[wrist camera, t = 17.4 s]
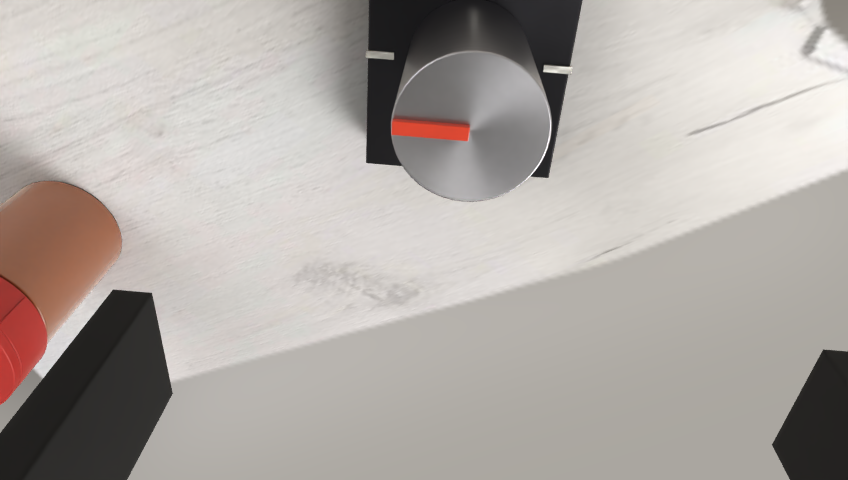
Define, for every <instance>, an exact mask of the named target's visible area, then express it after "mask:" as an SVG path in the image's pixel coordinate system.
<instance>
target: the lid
mask: <svg viewBox="0 0 848 480" xmlns="http://www.w3.org/2000/svg"><path fill="white" fill-rule="evenodd" d="M46 347H47V331H46V327H45V324H44V322H43V319H42V317H41V316H40V314H39V312H38V311H37V309H36V308H35V306H34V305H33V304H32V303H31V302H30V300H29V299H28V298H27V297H26V296H25V295H24V294H23V293H22V292H20V291H19V290H18V289H17V288H16V287H14V286H13V285H12V284H10V283H9V282H7V281H6V280H4V279H3V278H1V277H0V405H1V404H2V403H4V402H5V401H6V400H7V399H8V398H9V397H10V396H11V394H12V393H13V392H14V391H15V389H16V388H17V387H18V386H19V385H20V383H21V382H22V381H23V380H24V379H25V377H26V376H27V375H28V374H29V372H30V371H31V370H32V369H33V368H34V366H35V365H36V364H37V363H38V362H39V360H40V359H41V358H42V356H43V355H44V353H45V350H46Z"/></svg>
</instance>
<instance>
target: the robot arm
mask: <svg viewBox="0 0 848 480" xmlns="http://www.w3.org/2000/svg"><path fill="white" fill-rule="evenodd" d="M172 394H173V393H172V388H171V383H170V379H169V374H168V369H167V364H166V359H165V354H164V349H163V345H162V340H161V335H160V330H159V325H158V320H157V315H156V311H155V306H154V301H153V296H152V293H145V292H133V291H122V290H112V292H111V293H110V294H109V296H108V297H107V298H106V299H105V301H104V302H103V303H102V304H101V306H100V307H99V308H98V310H97V311H96V312H95V313H94V315H93V316H92V317H91V318H90V320H89V321H88V322H87V324H86V325H85V326H84V327H83V329H82V330H81V331H80V332H79V334H78V335H77V336H76V338H75V339H74V340H73V341H72V343H71V344H70V345H69V346H68V348H67V349H66V350H65V351H64V353H63V354H62V355H61V357H60V358H59V359H58V360H57V362H56V363H55V364H54V365H53V367H52V368H51V369H50V371H49V372H48V373H47V374H46V376H45V377H44V378H43V379H42V381H41V382H40V383H39V385H38V386H37V387H36V388H35V390H34V391H33V392H32V394H31V395H30V396H29V397H28V398H27V400H26V401H25V403H24V404H23V405H22V406H21V407H20V409H19V410H18V411H17V413H16V414H15V415H14V416H13V418H12V419H11V420H10V421H9V423H8V424H7V425H6V427H5V428H4V429H3V430H2V432H1V433H0V480H127V479H128V477H129V475H130V473H131V471H132V469H133V467H134V465H135V464H136V462H137V460H138V458H139V456H140V454H141V452H142V450H143V449H144V447H145V445H146V443H147V441H148V439H149V437H150V435H151V433H152V432H153V430H154V428H155V426H156V424H157V422H158V420H159V418H160V416H161V415H162V413H163V411H164V409H165V407H166V405H167V403H168V401H169V399H170V397H171V396H172ZM772 445H773V448H774V450H775V452H776V453H777V455H778V457H779V459H780V461H781V463H782V465H783V467H784V469H785V471H786V473H787V475H788V476H789V479H790V480H848V352H845V351H833V350H823V351H822V353H821V355H820V357H819V359H818V360H817V362H816V364H815V366H814V368H813V370H812V372H811V373H810V375H809V377H808V379H807V381H806V383H805V385H804V386H803V388H802V390H801V392H800V394H799V396H798V397H797V400H796V401H795V403H794V405H793V407H792V409H791V411H790V412H789V414H788V416H787V418H786V420H785V422H784V424H783V426H782V428H781V429H780V431H779V433H778V435H777V437H776V438H775V441H774V442H773V444H772Z"/></svg>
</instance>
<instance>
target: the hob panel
mask: <svg viewBox="0 0 848 480" xmlns="http://www.w3.org/2000/svg"><path fill="white" fill-rule="evenodd" d="M451 1H455V0H369V39H368V50H366V58H368V93H367V147H366V163H373V164H385V165H397V166H402V164H401V163H400V161H399V159H398V157H397V155H396V152H395V149H394V146H393V142H392V136H391V119H392V113H393V109H394V105H395V101H396V97H397V93H398V90H399V86H400V82H401V78H402V74H403V70H404V67H405V63H406V59H407V55H408V51H409V47H410V44H411V40H412V38H413V35H414V33H415V31H416V30H417V28H418V26H419V25H420V24H421V22H422V21H423V20H424V19H425V18H426V17H427V16H428V15H429V14H430V13H431V12H433V11H434V10H435V9H437V8H438V7H440V6H442V5H444V4H446V3H449V2H451ZM486 1H489V2H492V3H494V4H497V5H499V6H500V7H502V8H504V9H505V10H507V11H508V12H509V13H510V14H511V15H512V16H513V17H514V18H515V19H516V20H517V21H518V23H519V24H520V26H521V27H522V29H523V31H524V33H525V35H526V38H527V41H528V44H529V47H530V50H531V53H532V56H533V58H534V61H535V64H536V67H537V70H538V73H539V76H540V79H541V82H542V85H543V88H544V91H545V94H546V97H547V100H548V103H549V106H550V111H551V117H552V131H551V138H550V142H549V146H548V149H547V151H546V154H545V156H544V158H543V160H542V162H541V163H540V165H539V166H538V168H537V169H536V170H535V172H534V173H533V174H532V175H531V177H543V178H548V177H549V173H550V167H551V162H552V157H553V152H554V146H555V141H556V136H557V131H558V125H559V120H560V115H561V110H562V105H563V99H564V94H565V89H566V84H567V78H568V74H571V73H572V66H570V63H571V57H572V52H573V47H574V42H575V37H576V31H577V26H578V21H579V16H580V10H581V5H582V0H486Z"/></svg>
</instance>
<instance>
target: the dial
mask: <svg viewBox="0 0 848 480" xmlns="http://www.w3.org/2000/svg"><path fill="white" fill-rule="evenodd" d="M551 131H552V117H551V111H550V106H549V103H548V100H547V97H546V94H545V91H544V88H543V85H542V82H541V79H540V76H539V73H538V70H537V67H536V64H535V61H534V58H533V56H532V53H531V50H530V47H529V44H528V41H527V38H526V35H525V33H524V31H523V29H522V27H521V26H520V24H519V23H518V21H517V20H516V19H515V18H514V17H513V16H512V15H511V14H510V13H509V12H508V11H507V10H505V9H504V8H502V7H500V6H499V5H497V4H494V3H492V2H489V1H486V0H455V1H451V2H449V3H446V4H444V5H442V6H440V7H438V8H437V9H435V10H434V11H433V12H431V13H430V14H429V15H428V16H427V17H426V18H425V19H424V20H423V21H422V22H421V24H420V25H419V26H418V28H417V30H416V31H415V33H414V35H413V38H412V40H411V44H410V47H409V51H408V55H407V59H406V63H405V67H404V70H403V74H402V78H401V82H400V86H399V90H398V93H397V97H396V101H395V105H394V109H393V113H392V119H391V136H392V142H393V146H394V149H395V152H396V155H397V157H398V159H399V161H400V163H401V164H402V166H403V167H404V169H405V170H406V172H407V173H408V174H409V175H410V176H411V177H412V178H413V179H414V180H415V181H416V182H417V183H418V184H419V185H421V186H422V187H424V188H425V189H427V190H428V191H430V192H432V193H434V194H436V195H439V196H441V197H444V198H448V199H451V200H457V201H468V202H474V201H483V200H488V199H493V198H496V197H499V196H502V195H504V194H506V193H508V192H510V191H512V190H514V189H515V188H517V187H518V186H520V185H521V184H522V183H523V182H525V181H526V180H527V179H528V178H529V177H530V176H531V175H532V174H533V173H534V172H535V170H536V169H537V168H538V166H539V165H540V163H541V162H542V160H543V158H544V156H545V154H546V151H547V149H548V146H549V142H550V138H551Z"/></svg>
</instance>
